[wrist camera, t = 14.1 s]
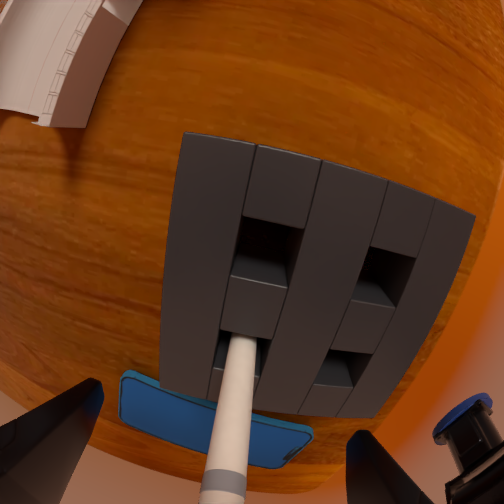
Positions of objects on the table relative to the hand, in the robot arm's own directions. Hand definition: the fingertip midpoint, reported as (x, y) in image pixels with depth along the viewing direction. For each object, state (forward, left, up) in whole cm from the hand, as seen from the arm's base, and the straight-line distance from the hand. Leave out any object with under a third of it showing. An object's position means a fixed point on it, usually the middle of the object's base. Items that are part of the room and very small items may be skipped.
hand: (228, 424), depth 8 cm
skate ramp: (+19, -9, -8) cm, 22 cm away
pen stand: (-1, -3, -8) cm, 8 cm away
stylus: (0, 0, -8) cm, 8 cm away
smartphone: (-5, +11, -8) cm, 14 cm away
